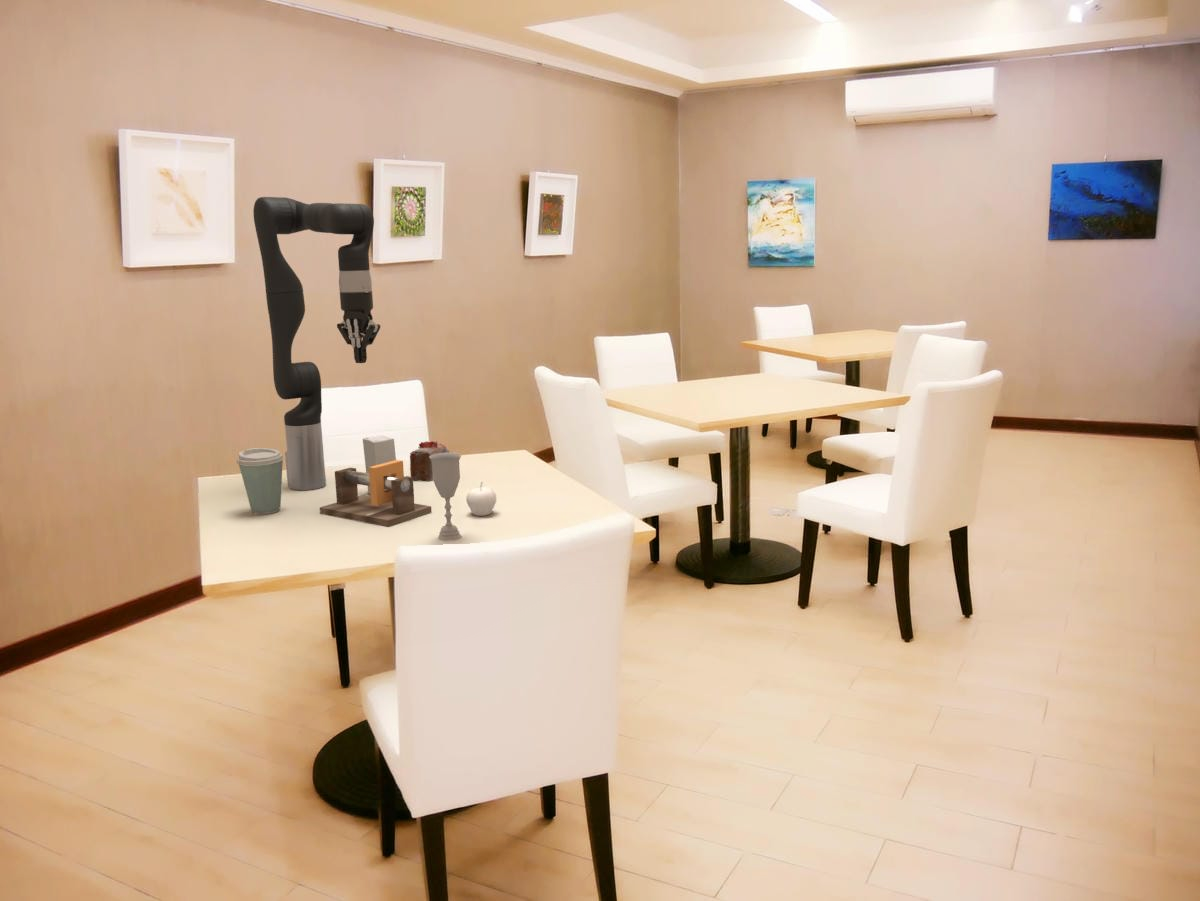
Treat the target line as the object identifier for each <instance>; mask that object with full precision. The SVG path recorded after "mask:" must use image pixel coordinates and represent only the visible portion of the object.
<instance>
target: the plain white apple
mask: <svg viewBox="0 0 1200 901" xmlns="http://www.w3.org/2000/svg"><path fill="white" fill-rule="evenodd" d="M483 483H484V481H481V482H480V485H479V487H476V488H472V489H470V490H469V491H468V492H467V495H466V503H467V505H468V508H469V510H470V512H471V513H472V514H473V515H474V516H479V517H485V516H488V515H490V514H491V513H492V512H493V510H494V507H495V505H496V502H497V494H496V492H495V490H493V488H491V487H485V486H483Z"/></svg>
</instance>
